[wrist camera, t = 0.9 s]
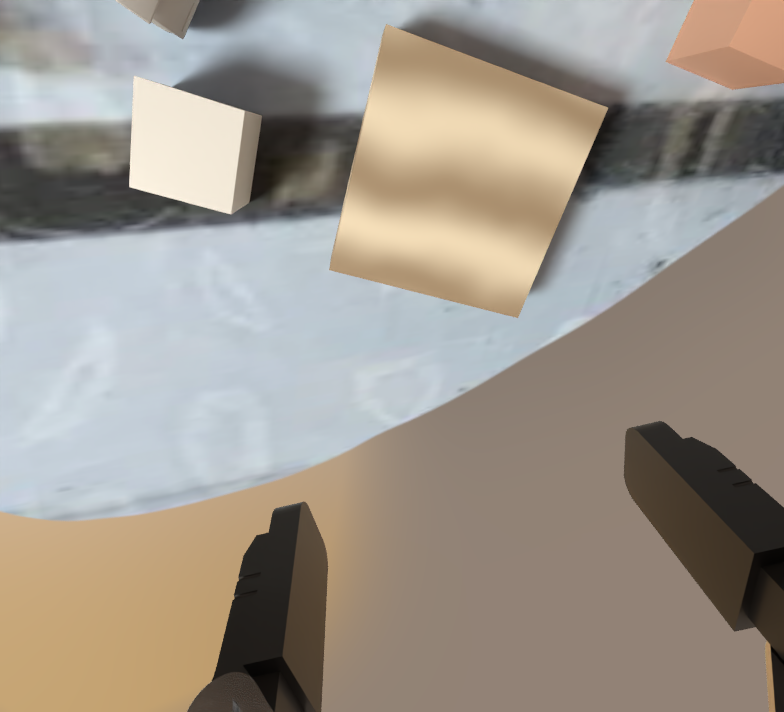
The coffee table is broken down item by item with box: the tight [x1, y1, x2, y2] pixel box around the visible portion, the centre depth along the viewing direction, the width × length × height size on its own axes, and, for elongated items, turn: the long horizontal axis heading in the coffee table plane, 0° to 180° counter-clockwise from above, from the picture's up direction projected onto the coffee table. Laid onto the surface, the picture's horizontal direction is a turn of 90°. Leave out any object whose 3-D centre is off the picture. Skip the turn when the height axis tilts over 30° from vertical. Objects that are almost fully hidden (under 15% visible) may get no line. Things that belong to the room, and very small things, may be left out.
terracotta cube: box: [666, 0, 784, 90], centre depth 26 cm, size 6×6×6 cm
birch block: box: [329, 24, 608, 318], centre depth 30 cm, size 14×14×4 cm
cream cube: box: [129, 76, 262, 214], centre depth 27 cm, size 6×6×6 cm
